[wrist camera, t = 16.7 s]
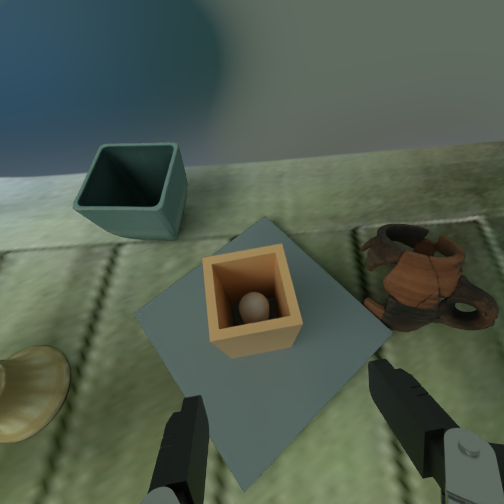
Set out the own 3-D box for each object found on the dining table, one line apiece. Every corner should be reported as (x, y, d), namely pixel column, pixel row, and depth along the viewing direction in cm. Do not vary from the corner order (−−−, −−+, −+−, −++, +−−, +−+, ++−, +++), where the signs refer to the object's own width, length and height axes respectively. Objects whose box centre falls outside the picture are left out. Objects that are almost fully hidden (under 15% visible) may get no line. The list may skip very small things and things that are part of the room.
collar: (291, 347, 24) (303, 323, 15) (232, 358, 24) (210, 341, 15) (278, 291, 27) (282, 243, 18) (224, 300, 27) (202, 257, 18)
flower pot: (118, 253, 32) (68, 208, 24) (137, 196, 36) (99, 142, 28) (188, 255, 31) (160, 209, 23) (199, 197, 35) (179, 141, 27)
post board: (245, 485, 21) (233, 536, 14) (139, 317, 28) (94, 292, 21) (386, 335, 26) (432, 314, 18) (265, 222, 33) (264, 175, 25)
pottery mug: (331, 303, 28) (352, 236, 24) (367, 269, 34) (390, 210, 30) (461, 380, 21) (525, 307, 17) (478, 321, 27) (529, 256, 23)
